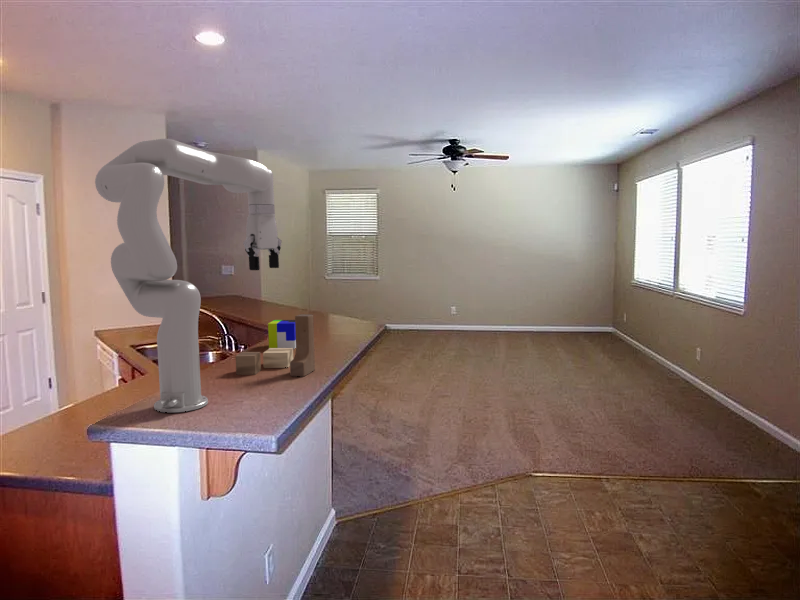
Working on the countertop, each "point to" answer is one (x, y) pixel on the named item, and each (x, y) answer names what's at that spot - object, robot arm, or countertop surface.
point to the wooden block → (303, 346)
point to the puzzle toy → (282, 334)
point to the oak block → (277, 357)
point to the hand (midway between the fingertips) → (264, 269)
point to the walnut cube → (248, 363)
